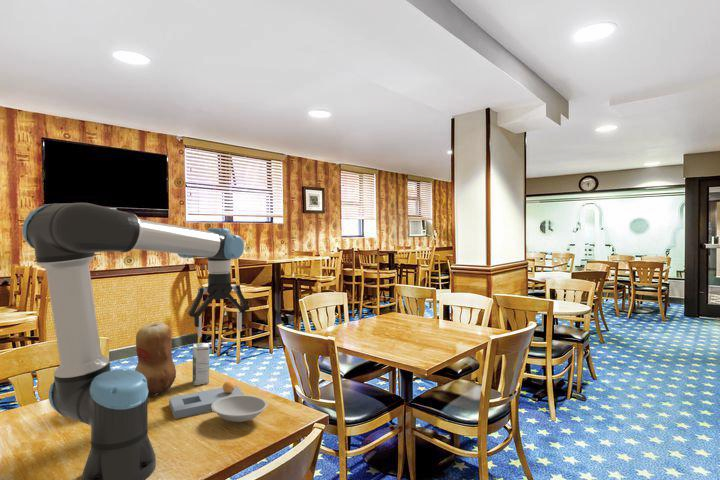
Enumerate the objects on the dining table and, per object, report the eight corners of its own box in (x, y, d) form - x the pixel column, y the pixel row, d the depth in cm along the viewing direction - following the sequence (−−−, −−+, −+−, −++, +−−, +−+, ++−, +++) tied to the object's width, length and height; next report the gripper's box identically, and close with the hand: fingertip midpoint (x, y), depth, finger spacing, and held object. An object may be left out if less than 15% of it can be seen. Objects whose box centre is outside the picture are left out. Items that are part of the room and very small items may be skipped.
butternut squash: (124, 398, 141) (123, 326, 141) (154, 384, 154) (153, 318, 154) (156, 403, 137) (156, 329, 137) (184, 389, 150) (184, 321, 150)
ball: (236, 393, 140) (236, 381, 140) (224, 395, 138) (224, 384, 138) (233, 389, 143) (233, 378, 143) (221, 391, 141) (221, 380, 141)
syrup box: (192, 381, 158) (192, 343, 158) (208, 378, 161) (208, 342, 160) (193, 386, 153) (192, 347, 153) (209, 383, 155) (209, 345, 155)
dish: (277, 415, 129) (277, 399, 129) (250, 436, 116) (250, 419, 115) (230, 407, 135) (230, 392, 135) (199, 426, 122) (199, 409, 121)
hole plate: (245, 403, 138) (245, 396, 138) (174, 419, 126) (174, 411, 126) (235, 391, 148) (235, 384, 148) (169, 405, 136) (169, 397, 136)
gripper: (251, 269, 152) (251, 326, 153) (178, 273, 138) (179, 336, 139) (258, 271, 146) (258, 330, 146) (183, 275, 132) (183, 341, 132)
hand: (220, 333), depth 143 cm, fingers open, 13 cm apart
